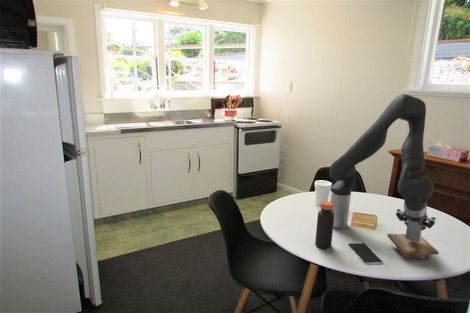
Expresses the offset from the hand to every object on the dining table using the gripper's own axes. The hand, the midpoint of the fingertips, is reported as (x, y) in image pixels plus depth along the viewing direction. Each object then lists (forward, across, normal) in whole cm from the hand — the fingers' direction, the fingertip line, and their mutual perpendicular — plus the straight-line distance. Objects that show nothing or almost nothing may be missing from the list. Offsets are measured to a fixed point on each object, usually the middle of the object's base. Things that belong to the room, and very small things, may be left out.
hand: (415, 226), depth 129 cm
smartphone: (-2, +15, +19) cm, 25 cm away
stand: (+7, 0, +9) cm, 12 cm away
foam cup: (+26, +51, -10) cm, 58 cm away
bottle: (-6, +31, +22) cm, 39 cm away
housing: (+2, 0, +5) cm, 5 cm away
